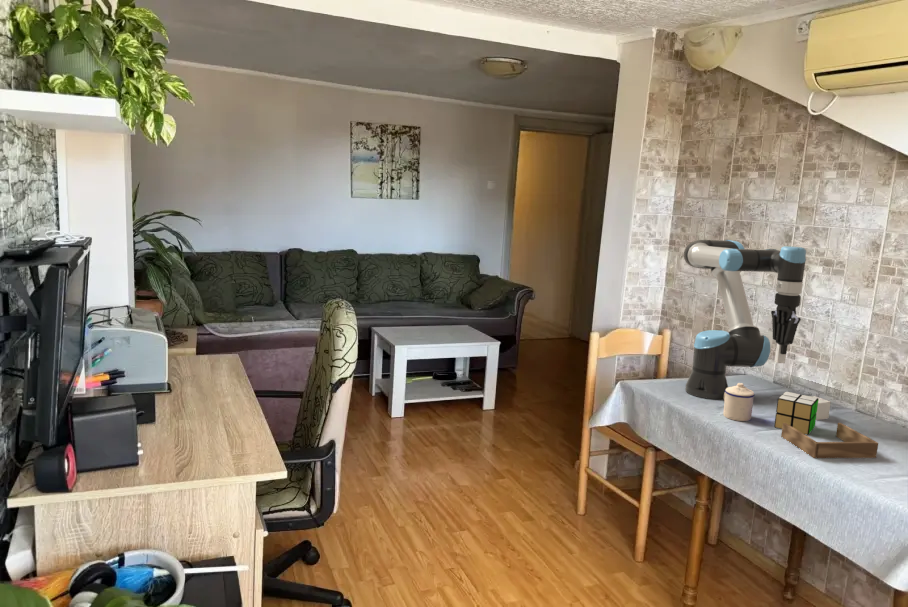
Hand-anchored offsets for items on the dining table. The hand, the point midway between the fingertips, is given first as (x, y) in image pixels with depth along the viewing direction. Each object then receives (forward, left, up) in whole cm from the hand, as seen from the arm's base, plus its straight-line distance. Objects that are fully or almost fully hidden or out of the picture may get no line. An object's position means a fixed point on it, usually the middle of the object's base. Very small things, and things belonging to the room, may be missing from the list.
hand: (779, 362), depth 216 cm
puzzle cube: (+12, 0, -19) cm, 22 cm away
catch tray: (+28, 0, -18) cm, 33 cm away
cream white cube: (+2, +14, -19) cm, 23 cm away
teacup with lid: (+1, -14, -19) cm, 24 cm away
